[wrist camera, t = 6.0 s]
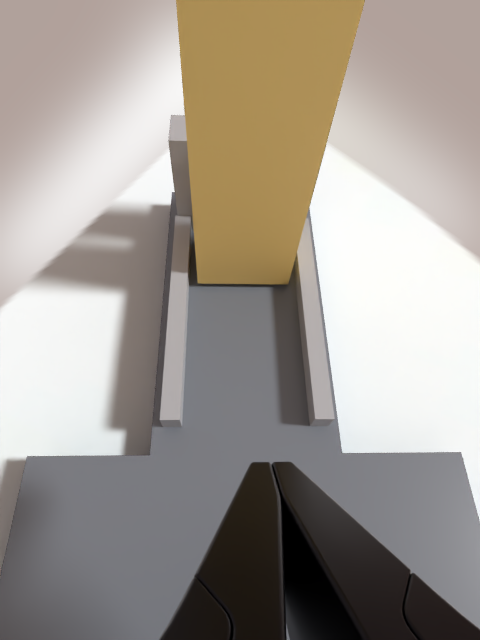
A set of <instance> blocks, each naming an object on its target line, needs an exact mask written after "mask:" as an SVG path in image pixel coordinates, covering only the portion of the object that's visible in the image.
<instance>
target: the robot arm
mask: <svg viewBox="0 0 480 640" xmlns="http://www.w3.org/2000/svg"><path fill="white" fill-rule="evenodd" d="M286 625H287V629H288V634H289V638H290V640H480V628H478V627H477V626H476V625H475V624H473V623H472V622H471V621H470V620H468V619H467V618H466V617H465V616H463V615H462V614H461V613H460V612H459V611H458V610H456V609H455V608H454V607H453V606H452V605H451V604H449V603H448V602H447V601H446V600H445V599H444V598H443V597H441V596H440V595H439V594H438V593H437V592H436V591H434V590H433V589H432V588H431V587H430V586H429V585H428V584H427V583H426V582H424V581H423V580H422V579H421V578H420V577H419V576H418V575H417V574H416V573H411V569H410V568H409V567H408V566H406V565H405V564H404V563H403V562H402V561H401V560H400V559H399V558H398V557H397V556H395V555H394V554H393V553H392V552H391V551H390V550H389V549H388V548H387V547H385V546H384V545H383V544H382V543H381V542H380V541H379V540H378V539H377V538H376V537H374V536H373V535H372V534H371V533H370V532H369V531H368V530H367V529H366V528H364V527H363V526H362V525H361V524H360V523H359V522H358V521H357V520H356V519H354V518H353V517H352V516H351V515H350V514H349V513H348V512H347V511H346V510H345V509H343V508H342V507H341V506H340V505H339V504H338V503H337V502H336V501H335V500H333V499H332V498H331V497H330V496H329V495H328V494H327V493H326V492H325V491H324V490H322V489H321V488H320V487H319V486H318V485H317V484H316V483H315V482H314V481H312V480H311V479H310V478H309V477H308V476H307V475H306V474H305V473H304V472H303V471H301V470H300V469H299V468H298V467H297V466H296V465H295V464H294V463H292V462H273V463H272V465H271V463H270V462H252V463H251V464H250V465H249V467H248V469H247V471H246V473H245V475H244V477H243V479H242V481H241V483H240V485H239V487H238V489H237V491H236V493H235V495H234V497H233V499H232V501H231V503H230V505H229V507H228V509H227V511H226V513H225V515H224V517H223V519H222V521H221V523H220V525H219V527H218V529H217V531H216V533H215V535H214V537H213V539H212V541H211V543H210V545H209V547H208V549H207V551H206V553H205V555H204V557H203V559H202V561H201V563H200V565H199V567H198V569H197V571H196V573H195V575H194V578H193V579H192V580H191V582H190V584H189V586H188V588H187V590H186V592H185V594H184V596H183V598H182V600H181V602H180V604H179V606H178V607H177V609H176V611H175V613H174V615H173V617H172V618H171V620H170V622H169V624H168V626H167V627H166V629H165V630H164V632H163V634H162V635H161V637H160V638H159V640H287V636H286Z"/></svg>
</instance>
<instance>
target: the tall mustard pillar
mask: <svg viewBox="0 0 480 640" xmlns="http://www.w3.org/2000/svg"><path fill="white" fill-rule="evenodd" d="M364 2H365V0H176V4H177V18H178V31H179V42H180V43H179V44H180V57H181V70H182V83H183V96H184V109H185V123H186V136H187V149H188V162H189V175H190V188H191V201H192V214H193V228H194V241H195V254H196V267H197V280H198V283H201V284H288V283H289V279H290V276H291V272H292V268H293V265H294V261H295V257H296V254H297V250H298V246H299V243H300V239H301V235H302V231H303V228H304V224H305V220H306V217H307V213H308V209H309V206H310V202H311V198H312V194H313V191H314V187H315V183H316V180H317V176H318V172H319V169H320V165H321V161H322V157H323V154H324V150H325V146H326V143H327V139H328V135H329V132H330V128H331V124H332V121H333V117H334V113H335V109H336V106H337V102H338V98H339V95H340V91H341V87H342V83H343V80H344V76H345V72H346V69H347V65H348V61H349V58H350V54H351V50H352V46H353V42H354V39H355V36H356V32H357V28H358V24H359V21H360V17H361V13H362V10H363V6H364Z"/></svg>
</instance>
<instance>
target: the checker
mask: <svg viewBox="0 0 480 640" xmlns="http://www.w3.org/2000/svg"><path fill="white" fill-rule="evenodd" d="M325 147H326V146H325ZM169 149H170V157H171V165H172V173H173V182H174V190H175V192H172V200H171V212H170V224H169V235H168V247H167V259H166V271H165V282H164V294H163V306H162V318H161V330H160V341H159V353H158V365H157V377H156V388H155V400H154V412H153V424H152V436H151V447H150V455H120V456H27V459H26V463H25V468H24V472H23V477H22V481H21V486H20V490H19V495H18V499H17V504H16V508H15V513H14V517H13V521H12V526H11V530H10V535H9V539H8V544H7V548H6V553H5V557H4V562H3V566H2V571H1V575H0V640H159V638H160V637H161V635H162V634H163V632H164V630H165V629H166V627H167V626H168V624H169V622H170V620H171V618H172V617H173V615H174V613H175V611H176V609H177V607H178V606H179V604H180V602H181V600H182V598H183V596H184V594H185V592H186V590H187V588H188V586H189V584H190V582H191V580H192V579H193V578H194V575H195V573H196V571H197V569H198V567H199V565H200V563H201V561H202V559H203V557H204V555H205V553H206V551H207V549H208V547H209V545H210V543H211V541H212V539H213V537H214V535H215V533H216V531H217V529H218V527H219V525H220V523H221V521H222V519H223V517H224V515H225V513H226V511H227V509H228V507H229V505H230V503H231V501H232V499H233V497H234V495H235V493H236V491H237V489H238V487H239V485H240V483H241V481H242V479H243V477H244V475H245V473H246V471H247V469H248V467H249V465H250V464H251V463H252V462H270V463H271V465H272V463H273V462H292V463H294V464H295V465H296V466H297V467H298V468H299V469H300V470H301V471H303V472H304V473H305V474H306V475H307V476H308V477H309V478H310V479H311V480H312V481H314V482H315V483H316V484H317V485H318V486H319V487H320V488H321V489H322V490H324V491H325V492H326V493H327V494H328V495H329V496H330V497H331V498H332V499H333V500H335V501H336V502H337V503H338V504H339V505H340V506H341V507H342V508H343V509H345V510H346V511H347V512H348V513H349V514H350V515H351V516H352V517H353V518H354V519H356V520H357V521H358V522H359V523H360V524H361V525H362V526H363V527H364V528H366V529H367V530H368V531H369V532H370V533H371V534H372V535H373V536H374V537H376V538H377V539H378V540H379V541H380V542H381V543H382V544H383V545H384V546H385V547H387V548H388V549H389V550H390V551H391V552H392V553H393V554H394V555H395V556H397V557H398V558H399V559H400V560H401V561H402V562H403V563H404V564H405V565H406V566H408V567H409V568H410V569H411V573H416V574H417V575H418V576H419V577H420V578H421V579H422V580H423V581H424V582H426V583H427V584H428V585H429V586H430V587H431V588H432V589H433V590H434V591H436V592H437V593H438V594H439V595H440V596H441V597H443V598H444V599H445V600H446V601H447V602H448V603H449V604H451V605H452V606H453V607H454V608H455V609H456V610H458V611H459V612H460V613H461V614H462V615H463V616H465V617H466V618H467V619H468V620H470V621H471V622H472V623H473V624H475V625H476V626H477V627H478V628H480V521H479V517H478V514H477V510H476V506H475V503H474V499H473V495H472V491H471V488H470V484H469V480H468V477H467V473H466V469H465V465H464V462H463V458H462V454H461V452H434V453H342V449H341V442H340V434H339V427H338V419H337V412H336V404H335V397H334V389H333V382H332V374H331V367H330V359H329V352H328V344H327V337H326V329H325V322H324V314H323V307H322V299H321V292H320V284H319V277H318V270H317V262H316V255H315V247H314V240H313V232H312V225H311V217H310V210H309V209H308V213H307V217H306V220H305V224H304V228H303V231H302V235H301V239H300V243H299V246H298V250H297V254H296V257H295V261H294V265H293V268H292V272H291V276H290V279H289V283H288V284H201V283H198V280H197V267H196V254H195V241H194V228H193V214H192V201H191V188H190V175H189V162H188V149H187V136H186V123H185V116H181V115H171V120H170V130H169ZM324 151H325V150H324ZM323 155H324V154H323ZM322 158H323V157H322ZM321 162H322V161H321ZM320 166H321V165H320ZM318 173H319V172H318ZM317 177H318V176H317ZM315 184H316V183H315ZM314 188H315V187H314ZM313 192H314V191H313ZM312 195H313V194H312ZM311 199H312V198H311ZM310 203H311V202H310ZM286 636H287V640H290V638H289V634H288V629H287V625H286Z"/></svg>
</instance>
